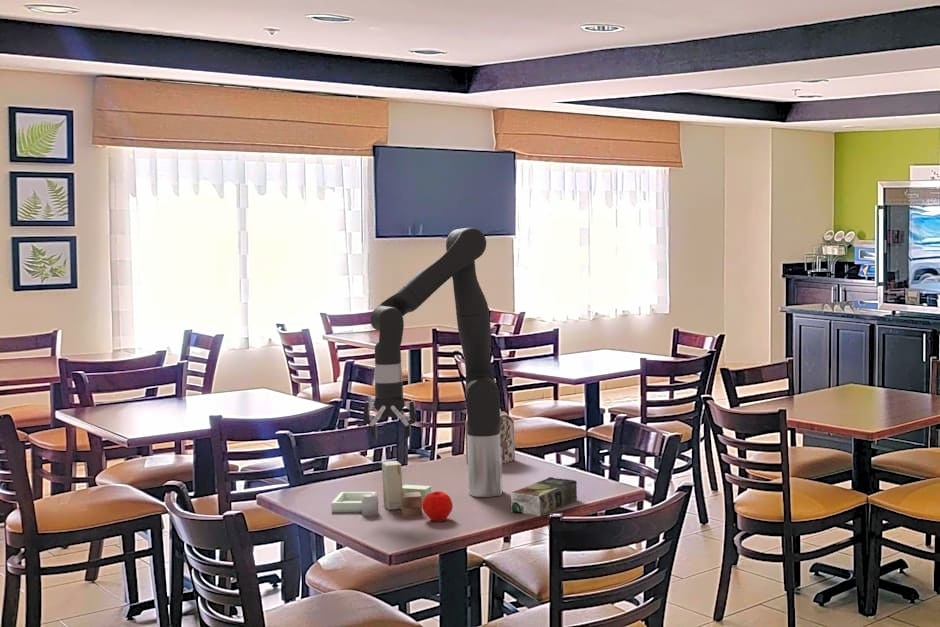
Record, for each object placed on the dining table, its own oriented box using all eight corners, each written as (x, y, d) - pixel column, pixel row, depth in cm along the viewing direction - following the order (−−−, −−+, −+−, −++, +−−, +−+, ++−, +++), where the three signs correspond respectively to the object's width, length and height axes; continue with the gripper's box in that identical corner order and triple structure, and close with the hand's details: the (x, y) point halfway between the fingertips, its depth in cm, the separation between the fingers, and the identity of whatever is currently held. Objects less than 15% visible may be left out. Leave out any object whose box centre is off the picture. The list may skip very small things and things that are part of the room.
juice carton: (539, 518, 273) (538, 494, 272) (507, 513, 279) (506, 490, 278) (578, 501, 289) (578, 479, 289) (548, 497, 295) (547, 476, 294)
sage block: (431, 500, 295) (431, 486, 295) (425, 503, 291) (425, 489, 291) (405, 498, 298) (404, 484, 297) (399, 502, 294) (398, 487, 294)
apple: (424, 515, 278) (423, 488, 277) (454, 515, 277) (453, 487, 277) (420, 524, 270) (419, 495, 270) (451, 523, 269) (450, 495, 269)
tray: (376, 500, 296) (376, 491, 295) (368, 511, 284) (367, 502, 284) (341, 500, 297) (341, 492, 296) (331, 512, 285) (331, 502, 285)
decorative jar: (465, 463, 341) (463, 407, 339) (487, 456, 350) (486, 402, 348) (494, 467, 333) (492, 410, 332) (516, 460, 342) (514, 405, 340)
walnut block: (419, 510, 284) (419, 491, 284) (422, 514, 279) (421, 496, 279) (401, 511, 284) (400, 493, 283) (403, 516, 279) (402, 497, 278)
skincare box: (403, 509, 286) (402, 464, 285) (388, 510, 284) (386, 465, 283) (398, 503, 292) (396, 459, 291) (383, 505, 290) (381, 461, 290)
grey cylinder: (379, 511, 284) (379, 493, 283) (376, 516, 279) (376, 497, 279) (363, 511, 284) (363, 493, 284) (360, 516, 280) (359, 497, 279)
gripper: (416, 377, 288) (418, 436, 290) (365, 378, 290) (367, 436, 291) (412, 381, 281) (414, 441, 282) (359, 382, 283) (362, 442, 284)
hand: (390, 439), depth 287 cm, fingers open, 8 cm apart
